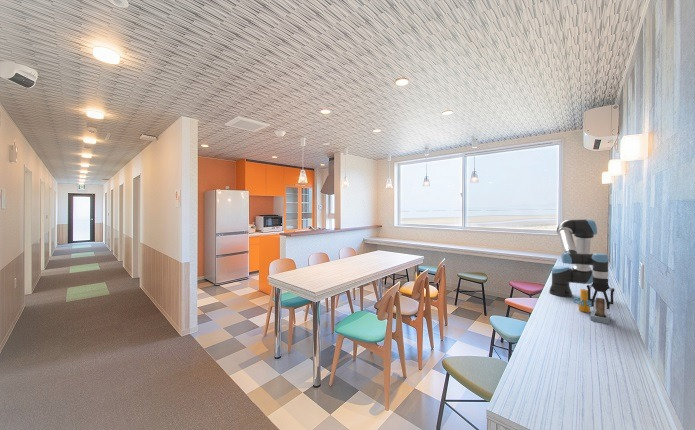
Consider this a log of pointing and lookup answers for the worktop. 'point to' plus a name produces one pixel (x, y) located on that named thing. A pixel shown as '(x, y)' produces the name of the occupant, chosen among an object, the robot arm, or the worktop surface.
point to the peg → (600, 307)
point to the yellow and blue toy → (583, 301)
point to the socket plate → (600, 318)
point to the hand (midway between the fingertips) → (600, 312)
